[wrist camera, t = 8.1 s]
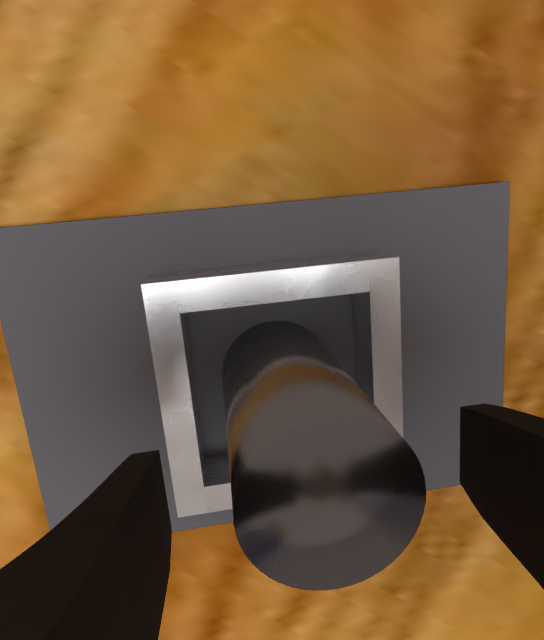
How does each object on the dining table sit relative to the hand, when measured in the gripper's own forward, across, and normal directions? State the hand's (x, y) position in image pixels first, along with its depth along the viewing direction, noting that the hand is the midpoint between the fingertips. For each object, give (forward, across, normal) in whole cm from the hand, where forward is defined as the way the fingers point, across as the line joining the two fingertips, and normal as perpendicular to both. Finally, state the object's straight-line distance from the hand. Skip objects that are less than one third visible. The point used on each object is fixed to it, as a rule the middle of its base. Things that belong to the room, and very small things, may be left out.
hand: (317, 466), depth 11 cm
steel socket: (+6, 0, 0) cm, 7 cm away
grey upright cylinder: (+6, 0, 0) cm, 7 cm away
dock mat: (+7, 0, 0) cm, 7 cm away
